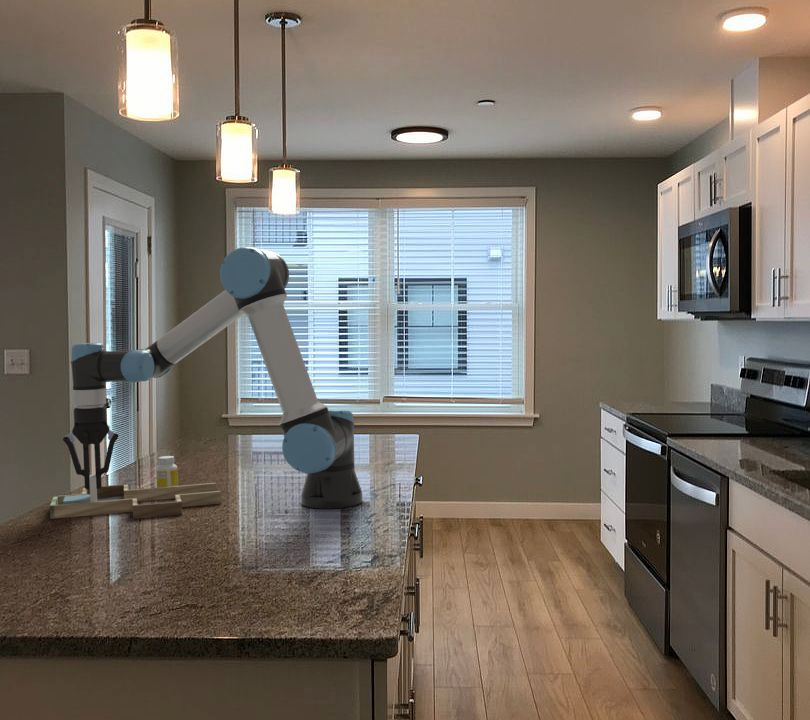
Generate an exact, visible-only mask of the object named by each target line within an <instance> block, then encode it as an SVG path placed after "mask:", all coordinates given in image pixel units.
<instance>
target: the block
mask: <svg viewBox="0 0 810 720" xmlns="http://www.w3.org/2000/svg"><path fill="white" fill-rule="evenodd" d="M84 502H90V494H88V495H76V496H65V498H64V501H63V504H72V503H84Z"/></svg>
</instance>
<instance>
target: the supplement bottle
mask: <svg viewBox="0 0 810 720" xmlns="http://www.w3.org/2000/svg"><path fill="white" fill-rule="evenodd" d="M158 464H159V465H157V466H156V488H158V487H170V486H179V474H178V472H179V470H178V466H177V465H176V464H175V456H173V455H164V456H163V455H162V456H159V457H158Z"/></svg>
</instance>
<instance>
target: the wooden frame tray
mask: <svg viewBox="0 0 810 720" xmlns="http://www.w3.org/2000/svg"><path fill="white" fill-rule="evenodd" d="M88 494H90V489H87V490H86V489H85V487H83V488H82V492H81V493H77V494H76V493H74V494H64V495H54V496H53V497H52V500H51V502H50V505H49V517H50V520H54V519H64V518H65V519H66V518H75V517H77V518H78V517H87V516H97V515H98V516H99V515H107V514H108V515H109V514H118V513H119V514H120V513H130V512H131V513H132V516H133V518H132V519H133V520H135V519H136V520H137V519H145V518H146V519H147V518H158V517H166V516H167V517H168V516H179V515H183V508H185V507H197V506H208V505H217V504H222V492H221V490H217V482H210V483H209V482H207V483H196V484H183V485H178V486H170V487H158V488H157V487H147V488H134V489H129V484H128V483H126V484H125V483H124V484H113V485H102V486H101V488H99V489H97V501H96V502H84V503H72V504H63V501H64V498H65V496H76V495H88ZM171 499H174V501H165V502H164V501H163V502H156V503H155V502H154V503H144V504H138V502H148V501H159V500H161V501H162V500H171Z"/></svg>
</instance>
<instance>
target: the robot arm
mask: <svg viewBox="0 0 810 720" xmlns="http://www.w3.org/2000/svg"><path fill="white" fill-rule="evenodd" d="M220 265H221V266H220V269H219V278H220V282H221V285H222V287H223V289H224V290H223V291H222V292H221V293H219V294H217V295H216V296H215V297H214V298H213V299H211V300H209V301H208V302H207V303H206V304H204V305H203V306H201V307H200V308H199V309H198V310H196V311H195V312H193V313H192V314H191V315H189V316H188V317H187V318H185V319H184V320H182V321H181V322H180V323H178V324H177V325H175V326H174V327H173V328H172V329H171V330H169V331H167V332H166V333H165V334H163V335H162V336H161V337H159V338H158V339H157V340H155V342H153V343H151V344H150V345H149V346H148V347H146V348H142V349H141V348H140V349H130V350H114V351H113V350H112V351H111V350H105V347H104V344H103V342H86V343H85V342H84V343H83V342H81V343H75V344H72V347H71V357H70V358H71V360H70V364H71V374H72V376H71V377H72V404H73V406H74V409H73V428H72V430H71V432H70V433H68V434H67V435H66V434H65V436H64V437H63V439H62V441H63V442H64V443H65V444H66V446H67V448H68V450H69V454H70V457H71V461H72V464H73V467H74V470H75V473H76V475H77V476H83V477H84V488H85V489H86V490H87V489H90V502H96V501H97V489H99V488H101V486H103V485H102V475H103V474H106V473H109V471H110V466H111V465H110V464H111V460H112V457H113V451H114V445H115V443H116V441H117V440H118V438H119V433H118V432H115V431H113V430H111V429H110V426H109V424H108V415H107V407H106V406H105V405H106V404H107V394H106V393H107V389H106V383H111V382H114V383H118V382H119V383H120V382H121V383H124V382H125V383H134V384H135V383H141V382H147V381H149V380H150V379H153V378H154V379H156V378H157V379H158V378H161V377H164V376H166V375H168V374H169V373H170V372H171V371H172V369H173V367H174V365H176V364H177V363H179V362H180V361H182V360H183V359H184V358H186V357H187V356H188V355H189V354H191V353H192V352H194V351H195V350H196V349H198V348H199V347H200V346H202V345H203V344H205V343H207V342H208V341H209V340H210V339H212V338H213V337H215V336H216V335H217V334H219V333H220V332H221V331H223V330H224V329H226V328H227V327H228V326H230V325H231V324H232V323H234V322H235V321H236V320H238V319H240V318H241V317H242V316H243V315H244V316H246V317H247V318H248V321H249V323H250V326H251V329H252V332H253V335H254V337H255V340H256V343H257V345H258V346H257V347H258V349H259V351H260V354H261V356H262V359H263V362H264V365H265V368H266V370H267V373H268V376H269V379H270V382H271V384H272V387H273V390H274V392H275V395H276V398H277V400H278V403H279V407H280V410H281V412H282V416H281V418H280V421H279V426H280V429H281V431H282V435H283V440H282V444H281V445H282V446H281V447H282V448H281V449H282V450H281V451H282V455H283V456H284V459H285V461H286V462H287V464H289V466H290V467H291V468H292V469H294V470H296V471H298V472H301V473H304V474H306V477H305V480H304V484H303V488H302V490H301V491H302V492H301V494H300V495H301V497H300V498H301V499H300V501H301V503H300V504H301V505H302V506H305V507H308V508H313V509H341V508H349V507H353V506H357V505H359V504H360V503H362V502H363V491H362V487H361V485H360V482H359V479H358V476H357V473H356V470H355V433H354V432H355V428H354V427H355V421H354V416H353V412H352V411H350V410H343V409H342V410H339V409H338V410H335V409H334V410H332V409H329V408H328V406H327V405H326V404H324V403H321V402H320V401H319V400H318V397H317V395H316V391H315V388H314V387H313V383H312V381H311V378H310V375H309V372H308V370H307V367H306V364H305V361H304V359H303V356H302V352H301V350H300V347H299V344H298V342H297V339H296V336H295V334H294V331H293V328H292V325H291V321H290V319H289V316H288V314H287V312H286V308H285V306H284V304H285V301H286V299H287V297H288V294H287V292H286V288H287V285H288V284H289V280H290V271H289V266H288V264H287V263H286V261H285V259H284V258H283V257H282V255H279V254H278V253H276V252H274V251H271V250H267V249H261V248H259V247H255V246H243V247H237V248H235V249H233V250H232V251H230V252H229V253H228V254H227V255H226V256H225V258H224V259H223V261H222V263H221V264H220ZM107 435H108V437H107ZM106 437H107V438H108V440H109V441H108V447H107V451H106V455H105V461H104V465H103V467H102V464H101V463H102V462H101V443H102V442H103V441H104V439H105V438H106ZM75 438H76V439H77V440H78V441H79V442H80V444H81V445H82V451H83V452H82V453H83V454H82V455H83V468H82V466H81V462H80V459H79V456H78V453H77V449H76V446H75V444H74V441H75ZM90 445H94V446H93V447H94V465H95V466H94V467H95V470H94V471H95V474H91V473H90V472H91V469H90V467H91V466H90V465H91V463H90Z"/></svg>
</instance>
